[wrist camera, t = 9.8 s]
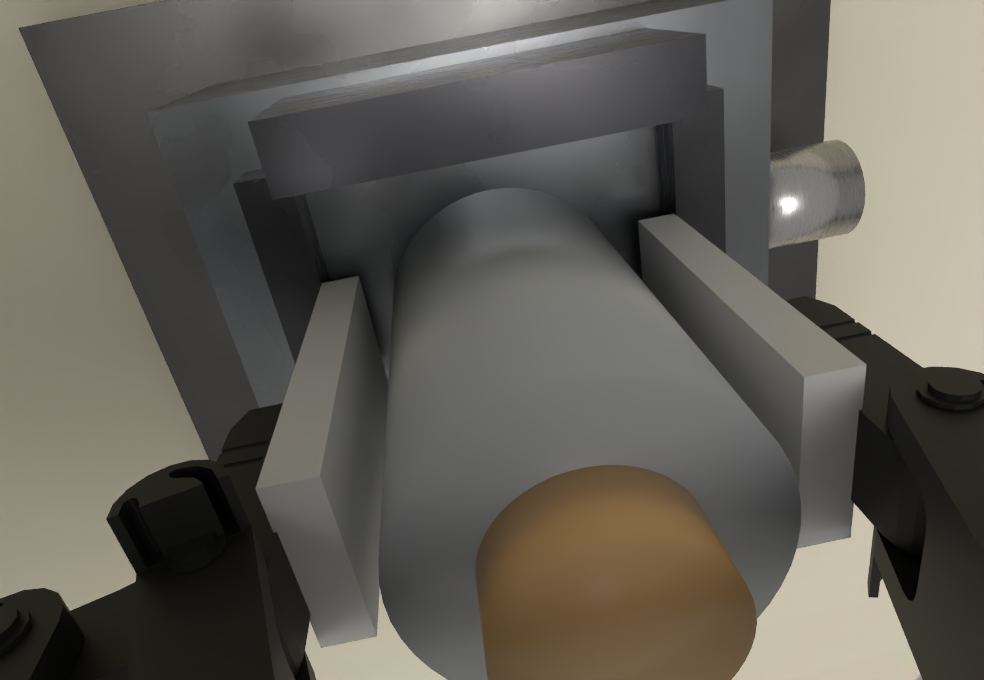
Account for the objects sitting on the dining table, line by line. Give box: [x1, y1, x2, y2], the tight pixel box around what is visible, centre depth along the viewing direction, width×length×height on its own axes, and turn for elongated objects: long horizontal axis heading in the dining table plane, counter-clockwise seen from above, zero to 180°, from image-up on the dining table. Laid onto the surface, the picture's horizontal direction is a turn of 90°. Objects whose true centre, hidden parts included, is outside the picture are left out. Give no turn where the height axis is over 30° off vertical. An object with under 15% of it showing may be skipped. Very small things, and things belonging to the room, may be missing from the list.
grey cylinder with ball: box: [378, 188, 801, 680], centre depth 11 cm, size 5×5×9 cm
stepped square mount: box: [19, 0, 865, 462], centre depth 16 cm, size 20×14×9 cm
